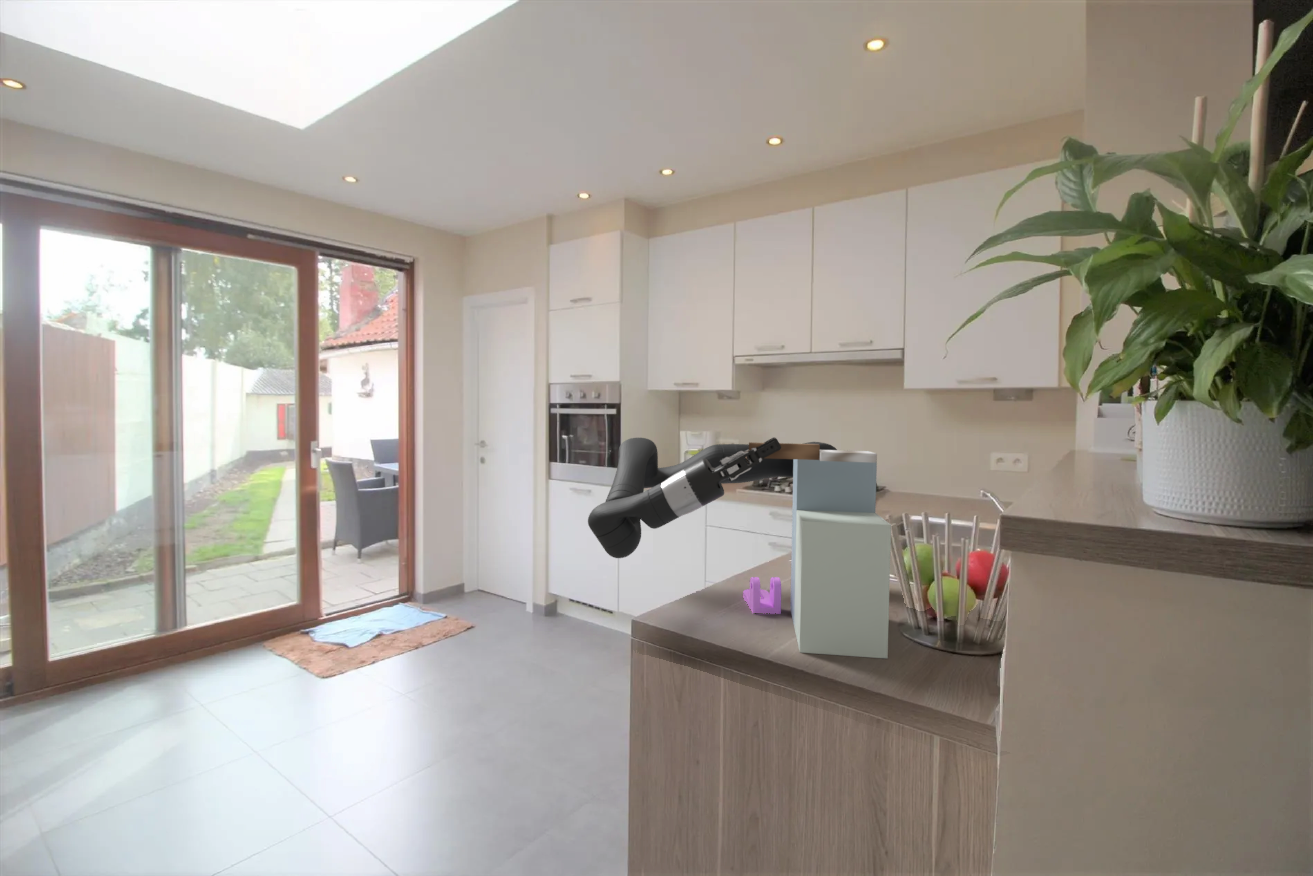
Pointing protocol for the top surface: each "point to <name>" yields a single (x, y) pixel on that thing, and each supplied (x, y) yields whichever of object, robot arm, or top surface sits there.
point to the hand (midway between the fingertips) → (778, 442)
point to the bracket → (764, 596)
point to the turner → (818, 453)
